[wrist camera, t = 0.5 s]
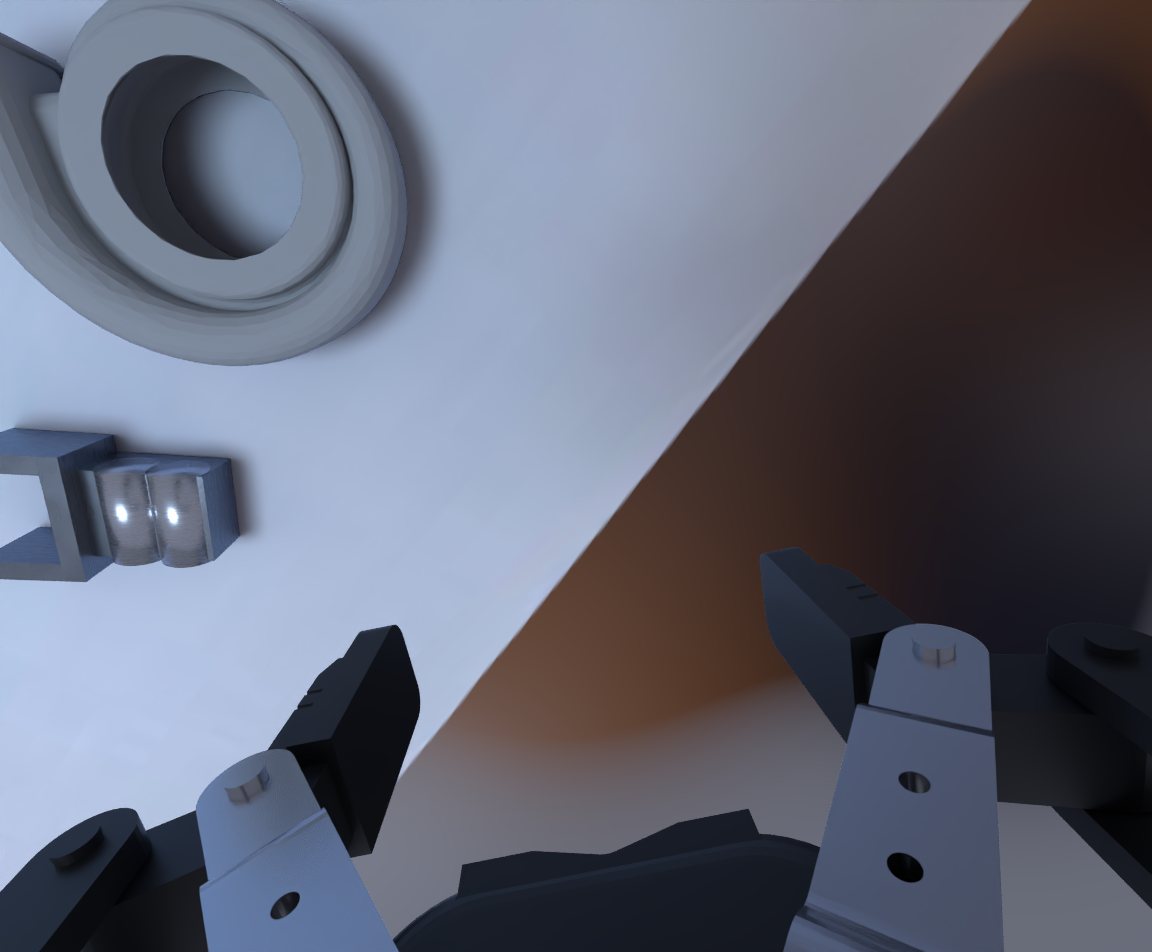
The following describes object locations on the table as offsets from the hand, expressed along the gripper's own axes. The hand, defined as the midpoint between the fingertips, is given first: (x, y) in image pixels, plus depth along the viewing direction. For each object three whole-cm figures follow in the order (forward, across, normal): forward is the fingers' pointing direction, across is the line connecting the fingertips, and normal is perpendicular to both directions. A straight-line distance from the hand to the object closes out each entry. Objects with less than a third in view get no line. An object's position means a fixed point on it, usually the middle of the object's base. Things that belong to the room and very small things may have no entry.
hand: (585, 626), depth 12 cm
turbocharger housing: (+20, +13, -16) cm, 29 cm away
